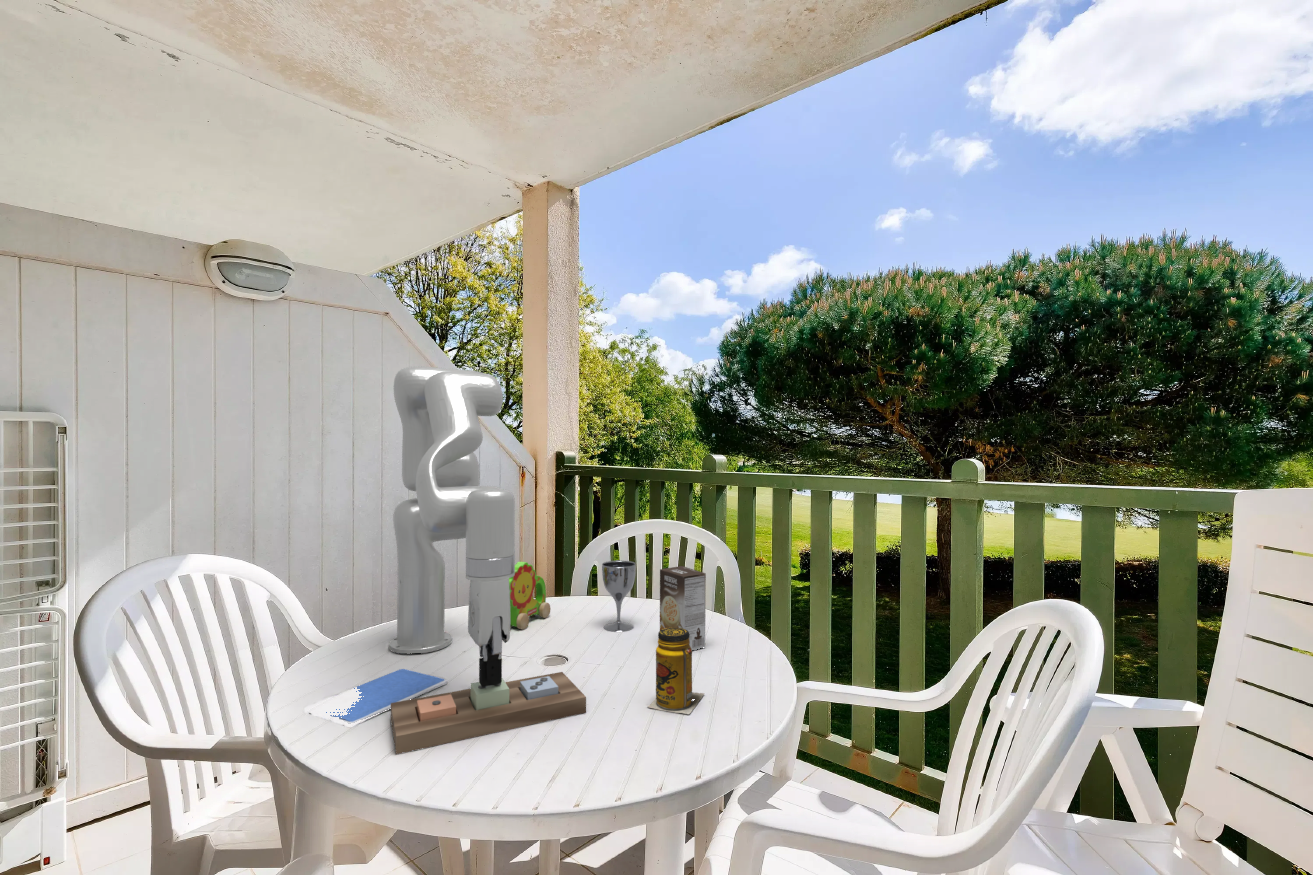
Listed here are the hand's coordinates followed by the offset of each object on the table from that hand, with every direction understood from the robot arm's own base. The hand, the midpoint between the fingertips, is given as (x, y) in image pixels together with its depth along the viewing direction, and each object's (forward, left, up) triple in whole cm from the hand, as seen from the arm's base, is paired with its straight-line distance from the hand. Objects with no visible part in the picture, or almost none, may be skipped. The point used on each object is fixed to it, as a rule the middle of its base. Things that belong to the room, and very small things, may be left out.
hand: (490, 683), depth 93 cm
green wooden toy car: (-46, +18, -6) cm, 50 cm away
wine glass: (-33, +37, -5) cm, 50 cm away
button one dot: (0, -8, -5) cm, 9 cm away
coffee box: (-15, +44, -6) cm, 47 cm away
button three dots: (0, +8, -5) cm, 9 cm away
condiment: (+9, +29, -6) cm, 31 cm away
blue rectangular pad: (-17, -15, -6) cm, 23 cm away
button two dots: (0, 0, -4) cm, 4 cm away
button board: (0, 0, -5) cm, 5 cm away
